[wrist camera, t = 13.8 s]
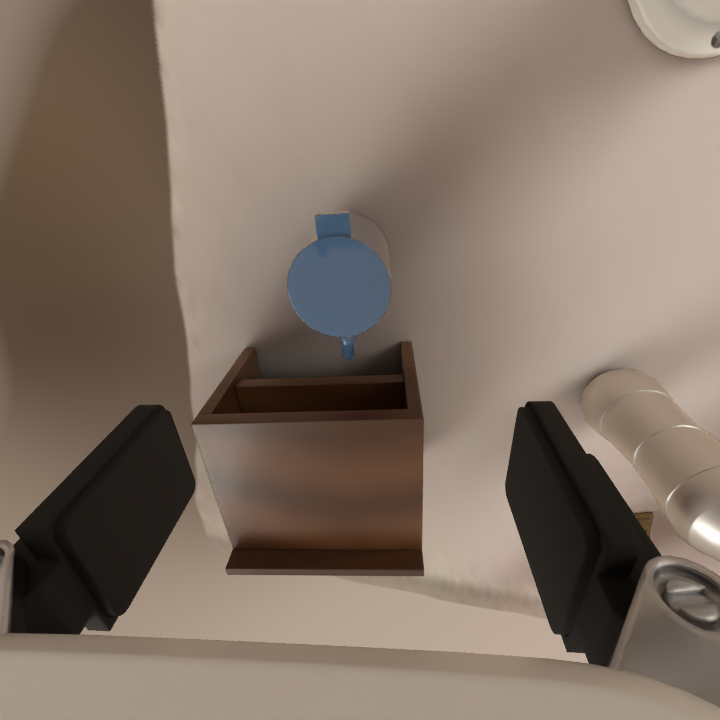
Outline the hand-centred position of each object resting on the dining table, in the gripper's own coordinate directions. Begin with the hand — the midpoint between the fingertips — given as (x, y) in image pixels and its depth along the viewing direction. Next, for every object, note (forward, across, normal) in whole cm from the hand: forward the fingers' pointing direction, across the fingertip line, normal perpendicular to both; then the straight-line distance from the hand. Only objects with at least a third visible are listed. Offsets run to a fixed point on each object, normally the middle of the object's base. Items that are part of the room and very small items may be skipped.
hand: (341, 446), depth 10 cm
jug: (+25, +2, +1) cm, 25 cm away
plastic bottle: (+25, -22, +15) cm, 37 cm away
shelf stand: (+24, +5, +16) cm, 30 cm away
